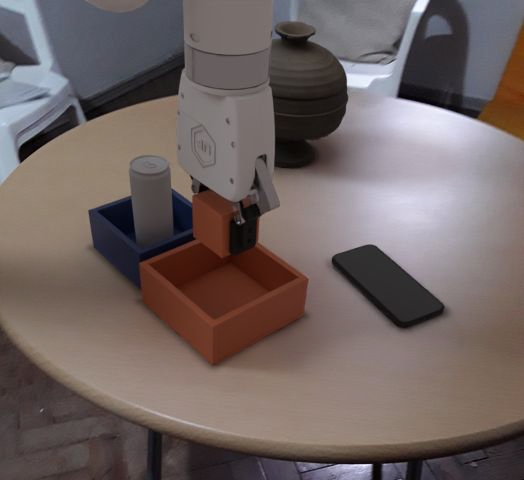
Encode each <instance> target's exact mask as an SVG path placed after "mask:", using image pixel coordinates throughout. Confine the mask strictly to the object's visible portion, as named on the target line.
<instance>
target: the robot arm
mask: <svg viewBox="0 0 524 480" xmlns="http://www.w3.org/2000/svg"><path fill="white" fill-rule="evenodd" d="M84 1H85V2H87V3H88V4H89V5H92V6H93V7H96V8H97V9H100V10H102V11H106V12H108V13H110V12H111V13H120V14H121V13H122V14H123V13H129V12H133V11H135V10H138V9H139V8H141V7H143V6H144V5H146V4H148V2H149V1H150V0H84ZM274 8H275V0H182V16H183V17H182V18H183V19H182V20H183V45H184V46H183V47H184V48H183V50H184V52H183V53H184V68H183V69H182V70H181V75H180V80H179V86H178V95H177V108H176V156H177V157H176V158H177V162H178V165H179V167H180V168H181V170H183V171H184V172H185V173H187V174H188V175H189V177H190V180H191V187H190V188H191V192H192V194H193V195H195V194H198V193H201V192H203V191H206V190H209V189H212V190H213V191H215V192H216V193H218V194H219V195H221V196H222V197H224V198H225V199H227V200H229V201H231V203H232V209H233V215H234V220H233V221H230V253H231V254H232V255H233V256H236V255H238V254H240V253H242V252H245V251H247V250H249V249H251V248H253V247H255V245H256V235H257V218H259V217H260V218H261V217H262V216H263V215H265V214H266V213H269V212H271V211H273V210H276V209H278V208H280V206H281V201H280V199H279V196H278V193H277V191H276V188H275V185H274V183H273V178H274V170H275V166H274V156H275V126H274V109H273V98H272V90H271V87H270V86H269V81H270V64H271V47H272V39H273V29H274V28H273V26H274V10H275V9H274ZM246 197H249V201H250V206H248V207H247V208H245V209H244V206H243V200H242V199H245V198H246ZM260 218H259V219H260Z"/></svg>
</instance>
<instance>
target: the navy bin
mask: <svg viewBox="0 0 524 480" xmlns="http://www.w3.org/2000/svg"><path fill="white" fill-rule="evenodd" d="M171 190H172V210H173V231H174V236H172V237H170V238H167V239H165V240H162V241H160V242H157V243H155V244H152V245H150V246H147V247H145V248H142V249H141V248H140V247H139V246H138V245H137V242H136V233H135V225H134V216H133V207H132V197H131V195H128V196H125V197H122V198H120V199H116V200H114V201H111V202H108V203H105V204H102V205H99V206H96V207H94V208H91V209H88V210H87V213H88V220H89V226H90V227H89V228H90V232H91V239H92V244H93V245H92V246H93V248H94V250H96V251H97V252H98V253H99V254H100V255H101V256H102V257H103V258H104V259H106V260H107V261H108V262H109V263H110V264H111V265H112V266H113V267H114V268H116V269H117V270H118V271H119V273H121V274H122V275H123V276H125V277H126V278H127V279H128V280H129V281H130V282H131V283H132V284H133V285H134V286H135V287H137V288H138V289H139V290H140V291H141V292H142V289H141V279H140V268H139V263H141V262H143V261H146V260H148V259H151V258H153V257H155V256H158V255H160V254H163V253H165V252H167V251H170V250H172V249H175V248H177V247H180V246H182V245H184V244H187V243H189V242H192V241H194V240H196V238H195V237H193V206H192V201H191V200H189V199H188V198H186V197H185V196H184V195H182V194H181V193H179V191H177V190H175V189H174V188H172V187H171Z"/></svg>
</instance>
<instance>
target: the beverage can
mask: <svg viewBox="0 0 524 480" xmlns="http://www.w3.org/2000/svg"><path fill="white" fill-rule="evenodd" d="M171 173H172V172H171V167H170V163H169V160H168V159H167V158H165V157H164V156H161V155H158V154H157V155H156V154H143V155H138V156H135V157H134V158H132V159H131V160H130V161H129V167H128V176H129V186H130V196H131V197H132V207H133V216H134V225H135V233H136V242H137V245H138V246H139V247H140V248H141V249H142V248H145V247H147V246H150V245H152V244H155V243H157V242H160V241H162V240H165V239H167V238H170V237H172V236H174V231H173V210H172V190H171V188H172V174H171Z"/></svg>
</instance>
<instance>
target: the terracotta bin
mask: <svg viewBox="0 0 524 480" xmlns="http://www.w3.org/2000/svg"><path fill="white" fill-rule="evenodd" d="M139 268H140V279H141V289H142V291H141V297H142V299H141V300H142V303H144V304H145V305H146V306H147V307H148V308H149V309H150V310H152V312H154V313H155V314H156V315H157V316H158V317H159V318H160V319H161V320H162V321H163V322H164V323H166V324H167V325H168V326H169V327H170V328H171V329H172V330H173V331H174V332H175V333H176V334H177V335H178V336H180V337H181V338H182V339H183V340H184V341H185V343H187V344H188V345H190V346H191V347H192V348H193V349H194V350H195V351H196V352H197V353H198V354H200V355H201V357H203V358H204V359H205V360H206V361H207V362H208V363H209V364H210V365H211V366H214V365H217V364H218V363H220V362H222V361H224V360H225V359H227V358H229V357H231V356H233V355H234V354H237V353H238V352H240V351H242V350H244V349H245V348H248V347H249V346H251V345H254V344H255V343H256V342H258V341H260V340H263V339H264V338H266V337H268V336H270V335H271V334H273V333H275V332H277V331H278V330H281V329H282V328H283V327H285V326H288V325H289V324H291V323H293V322H295V321H296V320H298V319H300V318H302V317H304V316H305V315H304V314H305V308H306V300H307V293H308V285H309V277H308V276H307V275H305V274H303V273H302V272H300V271H299V270H298V269H297V268H295V267H293V266H292V265H291V264H289V263H288V262H286V261H285V260H284V259H282V258H281V257H280V256H279V255H276V254H275V253H274V252H273V251H271V250H269V249H268V248H267V247H266V246H264V245H262V244H261V243H260V242H259V241H258V242H257V243H256V245H255V247H253V248H251V249H249V250H247V251H245V252H242V253H240V254H238V255H236V256H233V255H232V254H230V255H228V256H226V257H224V258H221V257H220V256H218V255H217V254H216V253H214V252H213V251H212V250H210V249H209V248H208V247H206V246H205V245H204V244H203V243H201V242H200V241H199V240H197V239H196V240H194V241H192V242H189V243H187V244H184V245H182V246H180V247H177V248H175V249H172V250H170V251H167V252H165V253H163V254H160V255H158V256H155V257H153V258H151V259H148V260H146V261H143V262H141V263H139Z"/></svg>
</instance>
